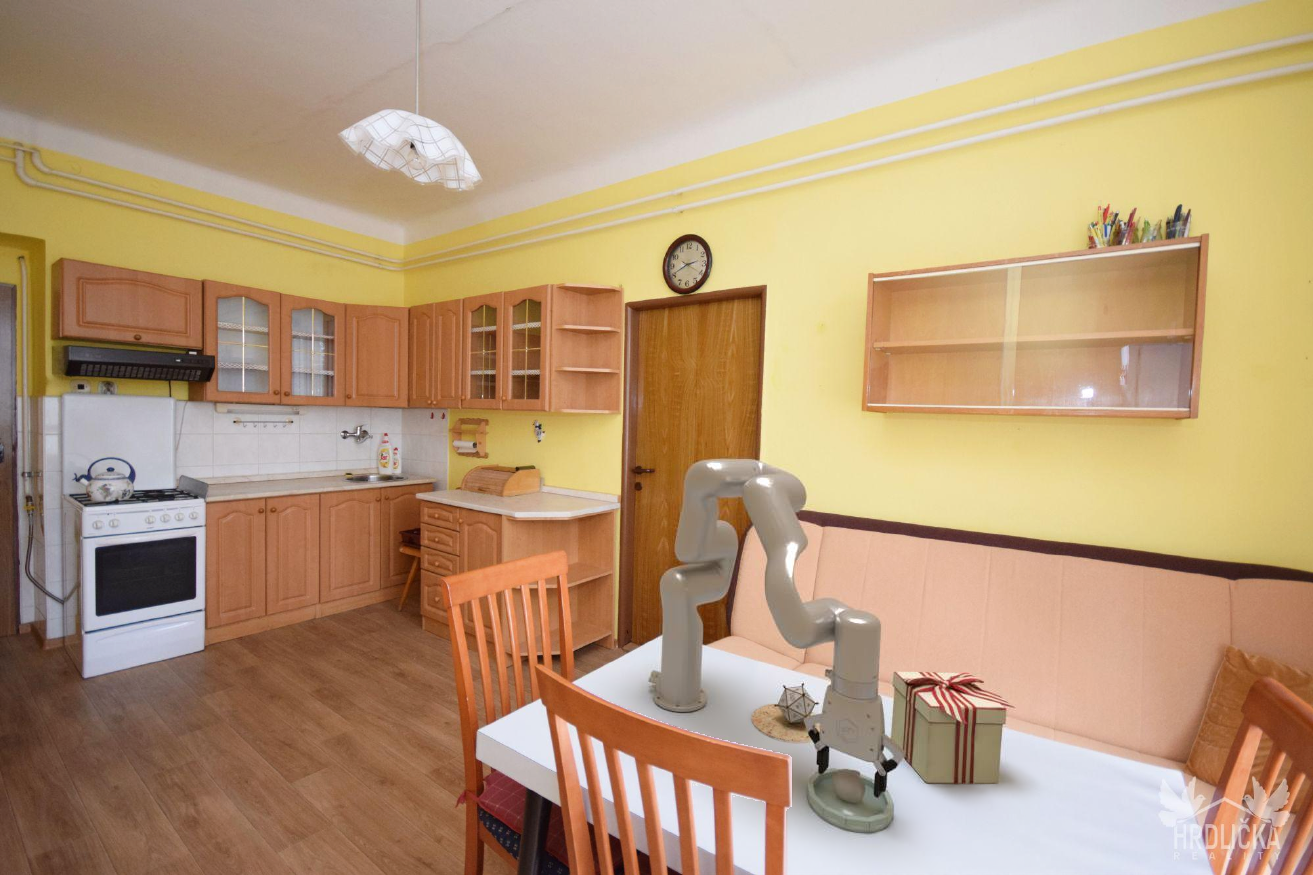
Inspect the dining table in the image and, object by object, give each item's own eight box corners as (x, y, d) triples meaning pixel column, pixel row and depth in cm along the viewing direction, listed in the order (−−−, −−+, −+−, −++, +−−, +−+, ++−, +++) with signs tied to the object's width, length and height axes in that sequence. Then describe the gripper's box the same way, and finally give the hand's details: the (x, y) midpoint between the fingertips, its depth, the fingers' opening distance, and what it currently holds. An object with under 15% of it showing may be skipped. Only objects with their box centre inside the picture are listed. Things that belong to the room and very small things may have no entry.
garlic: (872, 800, 100) (873, 771, 100) (855, 813, 97) (857, 782, 96) (841, 783, 105) (842, 755, 105) (824, 795, 101) (825, 765, 101)
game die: (802, 742, 127) (820, 720, 121) (766, 723, 128) (782, 701, 122) (809, 707, 134) (826, 684, 128) (774, 689, 135) (790, 666, 129)
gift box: (939, 798, 103) (944, 703, 103) (883, 741, 121) (887, 660, 121) (1024, 793, 106) (1029, 700, 105) (957, 738, 124) (961, 658, 123)
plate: (794, 806, 99) (794, 795, 99) (825, 770, 110) (825, 759, 110) (877, 845, 91) (878, 833, 91) (902, 801, 102) (903, 790, 102)
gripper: (798, 676, 102) (794, 771, 103) (901, 709, 92) (895, 814, 92) (815, 663, 108) (811, 753, 109) (913, 692, 98) (908, 792, 98)
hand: (850, 781), depth 100 cm, fingers open, 9 cm apart
